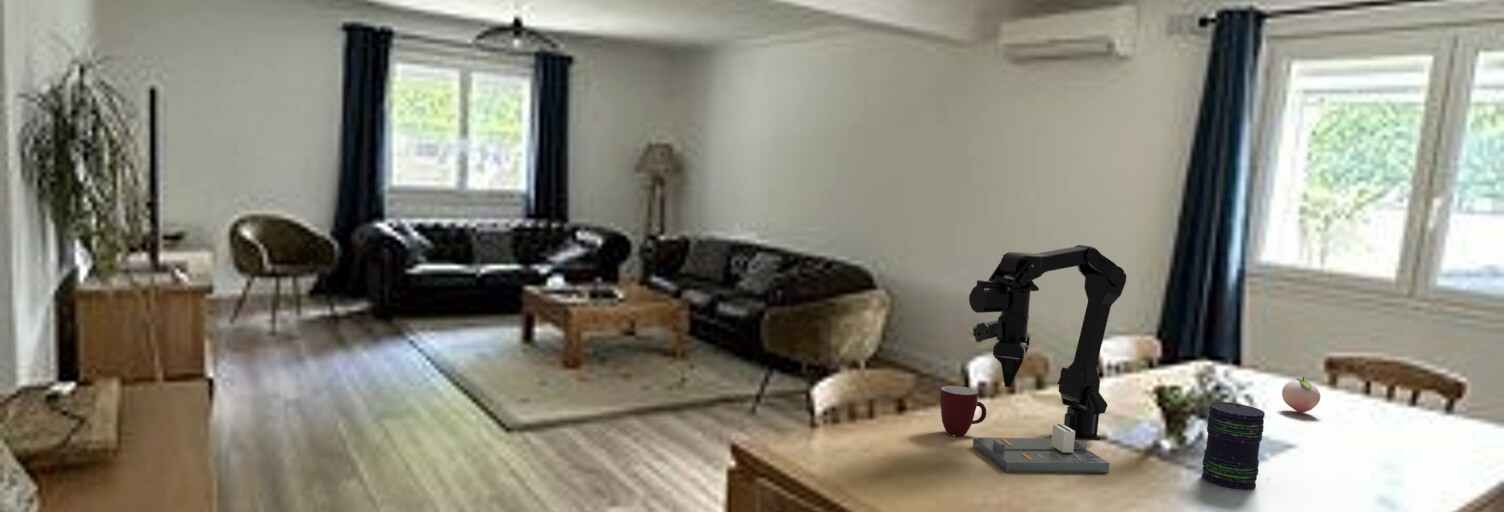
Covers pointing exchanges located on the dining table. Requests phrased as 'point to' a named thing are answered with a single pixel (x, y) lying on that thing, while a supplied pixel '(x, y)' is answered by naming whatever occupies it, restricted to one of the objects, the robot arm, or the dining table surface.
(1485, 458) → the dining table surface
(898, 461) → the dining table surface
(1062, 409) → the dining table surface
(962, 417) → the mug
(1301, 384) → the decorative fruit
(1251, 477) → the storage jar
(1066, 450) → the fader
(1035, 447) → the console
